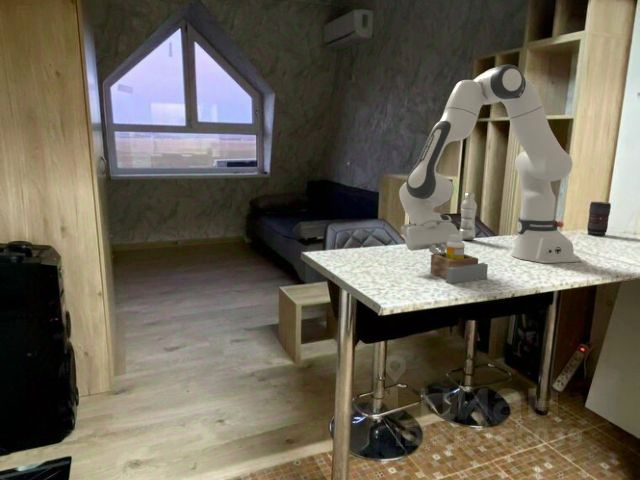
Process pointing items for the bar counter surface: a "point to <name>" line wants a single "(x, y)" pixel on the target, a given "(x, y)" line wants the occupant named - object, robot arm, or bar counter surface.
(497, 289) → the bar counter surface
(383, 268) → the bar counter surface
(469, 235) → the plastic bottle
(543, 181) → the robot arm
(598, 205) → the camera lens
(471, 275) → the slate wall
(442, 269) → the walnut socket block
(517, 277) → the bar counter surface
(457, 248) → the supplement bottle
